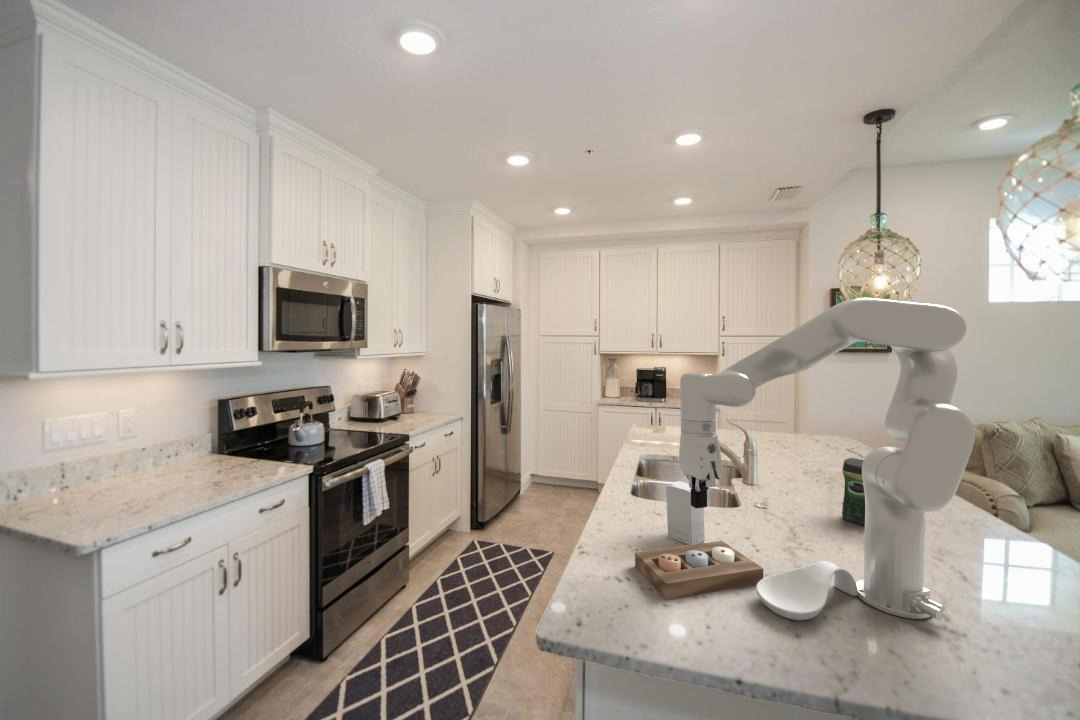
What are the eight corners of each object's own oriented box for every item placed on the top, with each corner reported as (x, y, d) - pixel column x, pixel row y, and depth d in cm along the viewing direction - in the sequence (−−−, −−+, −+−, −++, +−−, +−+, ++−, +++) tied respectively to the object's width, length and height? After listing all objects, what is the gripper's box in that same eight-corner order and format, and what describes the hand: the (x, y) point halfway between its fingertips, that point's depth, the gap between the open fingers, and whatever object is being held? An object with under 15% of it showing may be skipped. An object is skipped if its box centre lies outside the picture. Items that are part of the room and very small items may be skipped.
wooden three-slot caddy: (763, 583, 95) (763, 568, 95) (666, 599, 89) (666, 583, 89) (721, 554, 108) (721, 540, 108) (635, 566, 103) (635, 552, 102)
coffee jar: (886, 523, 127) (887, 461, 126) (876, 530, 122) (877, 465, 122) (848, 513, 135) (849, 454, 134) (837, 519, 130) (838, 458, 130)
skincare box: (705, 542, 115) (705, 487, 115) (690, 547, 112) (691, 491, 112) (679, 530, 122) (679, 479, 122) (665, 536, 119) (665, 483, 119)
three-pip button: (684, 582, 95) (685, 561, 95) (665, 585, 94) (665, 564, 94) (673, 571, 100) (673, 551, 100) (654, 573, 99) (654, 554, 99)
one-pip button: (738, 573, 99) (738, 554, 99) (720, 576, 98) (720, 556, 97) (724, 563, 103) (725, 544, 103) (707, 566, 102) (707, 547, 102)
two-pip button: (712, 577, 97) (712, 557, 97) (693, 580, 96) (693, 560, 96) (699, 567, 102) (699, 548, 101) (681, 570, 100) (681, 550, 100)
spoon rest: (797, 638, 78) (797, 599, 77) (743, 602, 88) (743, 568, 88) (875, 606, 87) (876, 571, 87) (818, 577, 98) (818, 546, 98)
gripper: (734, 431, 91) (735, 517, 92) (693, 420, 106) (694, 494, 106) (703, 434, 89) (704, 521, 90) (665, 422, 104) (667, 497, 104)
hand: (699, 506), depth 98 cm, fingers closed
